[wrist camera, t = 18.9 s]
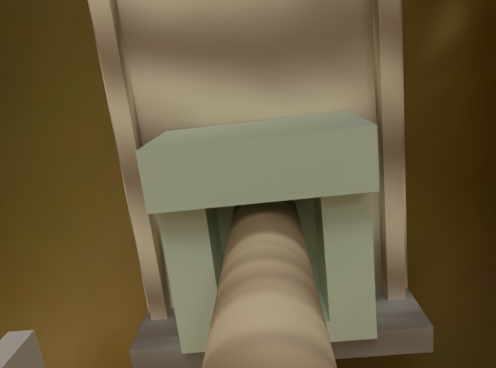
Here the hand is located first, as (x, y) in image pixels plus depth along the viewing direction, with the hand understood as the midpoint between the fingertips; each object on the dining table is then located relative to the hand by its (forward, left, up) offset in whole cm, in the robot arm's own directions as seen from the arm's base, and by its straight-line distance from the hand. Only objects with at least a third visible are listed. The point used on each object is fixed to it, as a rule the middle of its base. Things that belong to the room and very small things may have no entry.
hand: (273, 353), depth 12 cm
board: (-3, 0, -15) cm, 15 cm away
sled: (+1, 0, -13) cm, 13 cm away
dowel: (0, 0, -12) cm, 12 cm away
